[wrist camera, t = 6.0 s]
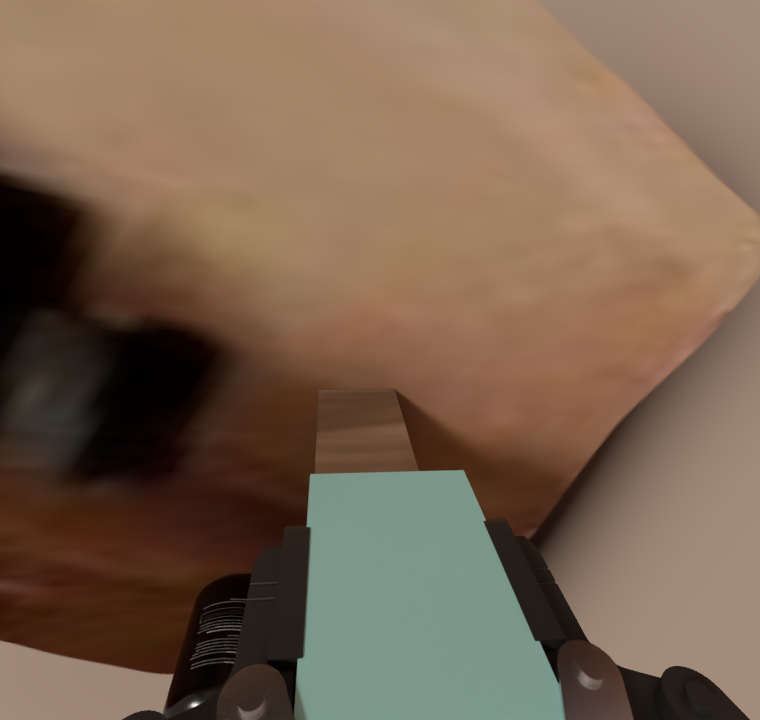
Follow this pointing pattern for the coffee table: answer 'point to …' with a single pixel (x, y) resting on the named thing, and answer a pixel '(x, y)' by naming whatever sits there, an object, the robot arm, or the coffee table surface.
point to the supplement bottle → (208, 644)
